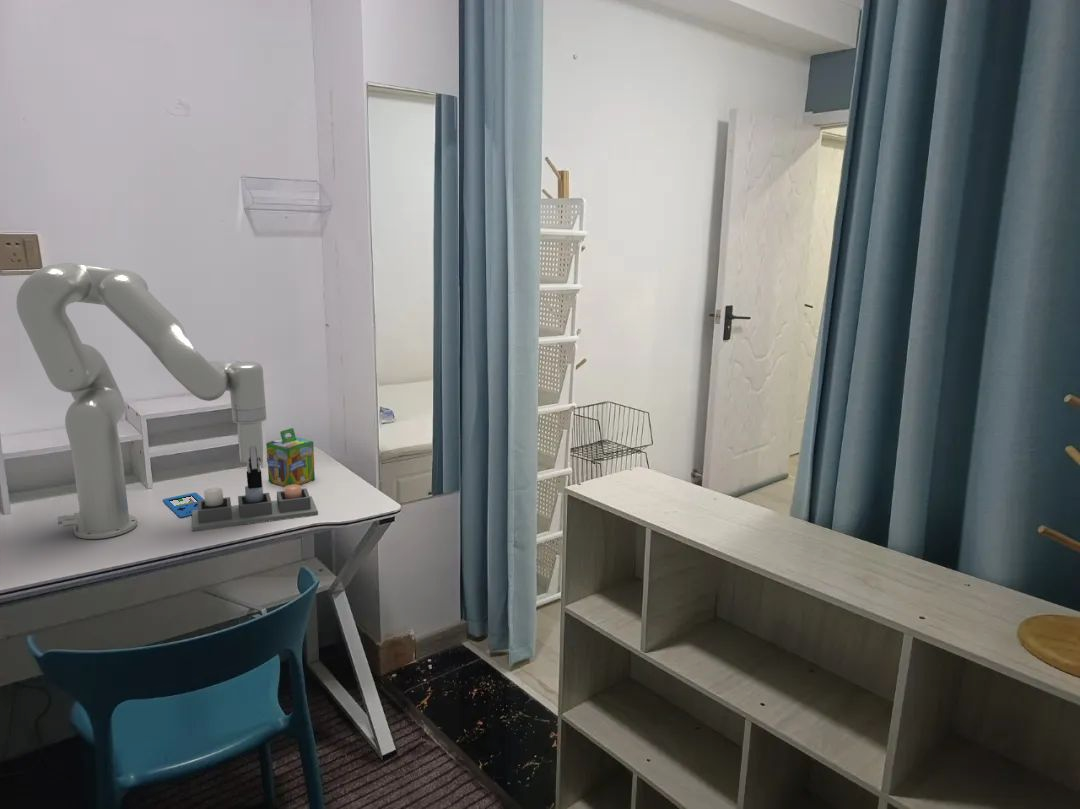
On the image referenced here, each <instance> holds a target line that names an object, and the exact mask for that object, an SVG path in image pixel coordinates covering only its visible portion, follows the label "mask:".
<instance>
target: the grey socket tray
mask: <svg viewBox="0 0 1080 809" xmlns="http://www.w3.org/2000/svg"><path fill="white" fill-rule="evenodd" d="M301 491H302V498H294V499H286V500H285V491H284V490H280V491H276V500H272V499H271V495H270V492H263V500H262V501H259V502H247V501H246V496H245V494H244V495H237V497H238V498H237V500H238V504H237V505H236V504H235V505H232V504H231V503H232V502H231V497H230V496H229V497H223V504H221V505H218V506H206V505H205V499H204V500H201V501H198V510H192V516H191V518H192V519H191V520H192V522H191V530H192V532H198V531H197V530H199V531H205V530H204V529H206V530H213V528H214V529H221V528H228V527H237V526H243V525H242V524H244V525H249V524H248V523H252V524H256V523H255V522H260V523H263V522H262V521H267V522H272V521H271V520H275V521H280V520H279V519H282V520H287V519H286V518H290V519H295V518H294V517H298V518H303V517H302V516H305V517H310V515H313V516H318V515H319V510H318V509H317V506H316V503H315V501H314V498H313V496H312V495H311V496H310V494H309V491H308V489H307V488H306V487H305V488H301ZM269 520H270V521H269ZM236 525H237V526H236Z"/></svg>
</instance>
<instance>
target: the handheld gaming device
mask: <svg viewBox="0 0 1080 809" xmlns="http://www.w3.org/2000/svg"><path fill="white" fill-rule="evenodd" d="M191 496H192V497H193V498H194V499H195V500H196V501H197V502H194V501H193V500H192V499H191V498H190V499H189V500H190V501H189V502H188V503H184V504H179V505H176V506H174V505H173V504H172V503H171V502H170V501H173V500H178V501H179V502H180V501H183V499H182V498H186V497H191ZM201 500H205V498H203V497H202V496H201V495H200V494H199V493H197V492H191V493H186V494H181V495H176V496H172V497H166V498H163V499H162V503H163V502H164V503H163V504H165V505H166V506H167V508H169V509H170V510H171V511H172V512H173V513H174V514H175V515H176V516H177V517H178V518H179V519H185V517H186V518H190V516H191V517H192V510H198V501H201Z"/></svg>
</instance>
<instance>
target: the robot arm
mask: <svg viewBox="0 0 1080 809" xmlns="http://www.w3.org/2000/svg"><path fill="white" fill-rule="evenodd" d="M73 303H84V304H91V305H92V304H94V305H102V306H105V307H106V308H107V309H108V310H109V311H110V312H112V314H114V315H115V316H116V318H118V320H120V321H121V322H122V323H123V324H124V325H125V326H126V327H127V328H129V329H130V330H131V331H132V332H133V333H134V334H135V336H137V338H139V339H140V340H141V341H142V342H143V343H144V344H145V345H146V346H147V347H148V348H149V350H150V351H151V353H152V354H153V356H155V357H156V359H157V360H158V361H159V362H160V363H161V364H162V365H163V366H164V368H165V369H166V370H167V372H169V373H170V374H171V376H172V377H174V379H175V380H176V381H178V383H179V384H180V385H182V386H183V387H184V388H185V389H186V390H187V391H188V392H190V394H192V395H193V396H194V397H196V398H198V399H199V400H202V401H207V402H209V401H210V402H211V401H215V400H218V399H220V398H221V397H223V395H224V394H225V393H226V392H227V391H228V392H229V394H230V395H229V396H230V405H231V406H230V407H231V414H232V415H231V417H232V422H233V423H234V424H237V439H238V440H237V441H238V450H239V460H240V463H241V465H245V464H246V469H247V471H246V479H247V480H246V481H247V483H246V484H247V486H248V488H249V489H251V488H260V487H262V486H263V480H262V479H263V477H262V471H261V464H260V463H262V462H263V460H264V442H263V441H264V440H263V426H262V423H263V422H264V421H267V408H266V396H265V394H266V393H265V381H264V380H265V379H264V369H263V366H262V364H260V363H259V362H257V361H238V362H225V361H224V362H223V361H213V360H211V361H209V360H206V358H205V357H204V356H203V355H201V353H200V352H199V351H198V350H197V349H196V347H195V346H194V345H193V344H192V342H191V341H190V340H189V338H188V336H187V334H186V331H185V330H184V327H183V326H182V324H181V323H180V321H179V319H178V318H177V317H176V316H174V315H173V313H171V312H170V310H168V308H166V307H165V306H164V305H163V304H162V303H161V302H160V301H159V300H158V299H157V298H156V297H155V296H154V295H153V294H152V292H150V291H149V286H148V283H147V281H146V280H145V279H144V278H143V277H142V276H141V275H140V274H138V273H136V272H134V271H132V270H125V269H116V268H107V267H100V266H94V265H93V266H92V265H86V264H78V263H69V262H68V263H67V262H66V263H58V264H51V265H47V266H44V267H41V268H39V269H37V270H36V271H34V272H33V273H32V274H30V275H29V276H28V277H26V279H25V280H24V281H23V283H22V284H21V285H20V287H19V290H18V291H17V295H16V310H17V315H18V317H19V320H20V322H21V323H22V326H23V328H24V330H25V332H26V334H27V336H28V338H29V340H30V342H31V344H32V347H33V350H34V352H35V353H36V356H37V357H38V360H39V361H40V364H41V366H42V368H43V369H44V372H45V374H46V376H47V378H48V380H49V382H50V383H51V384H52V386H53V387H55V388H56V389H57V390H58V391H61V392H64V393H70V394H71V396H72V398H73V399H74V400H73V401H72V403H71V404H70V405H69V407H68V408H67V410H66V413H65V418H64V425H65V431H66V435H67V438H68V441H69V446H70V449H71V450H70V452H71V456H72V465H73V471H74V479H75V488H76V495H77V501H78V502H77V503H78V510H79V511H78V512H75V513H74V514H72V515H68V514H67V515H66V514H65V515H58V516H57V526H59V525H60V526H61V525H62V527H63V528H65V527H70V526H71V527H72V526H73V534H74V536H75V537H76V538H77V537H78V538H80V539H84V540H85V539H86V540H97V539H98V540H99V539H107V538H112V537H113V538H114V537H117V536H120V535H123V534H126V533H128V532H130V531H132V530H134V528H136V527H137V525H138V518H137V517H136V516H134V515H132V514H130V513H129V507H128V506H129V505H128V496H127V487H126V478H125V469H124V461H123V452H122V445H121V440H120V436H119V432H118V423H119V422H120V421H121V420H122V417H123V415H124V413H125V409H126V405H125V401H124V400H125V399H124V397H123V395H122V392H121V391H120V388H119V386H118V384H117V382H116V379H115V377H114V375H113V374H112V372H111V370H110V367H109V365H108V363H107V361H106V359H105V357H104V356H103V355H102V352H100V351H99V350H98V349H97V348H95V347H94V346H92V345H91V344H90V345H89V344H86V343H83V342H82V340H81V338H80V336H79V334H78V332H77V330H76V327H75V326H74V324H73V322H72V321H71V319H70V318H69V316H68V314H67V312H66V310H67V309H66V308H67V306H68V305H71V304H73Z"/></svg>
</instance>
